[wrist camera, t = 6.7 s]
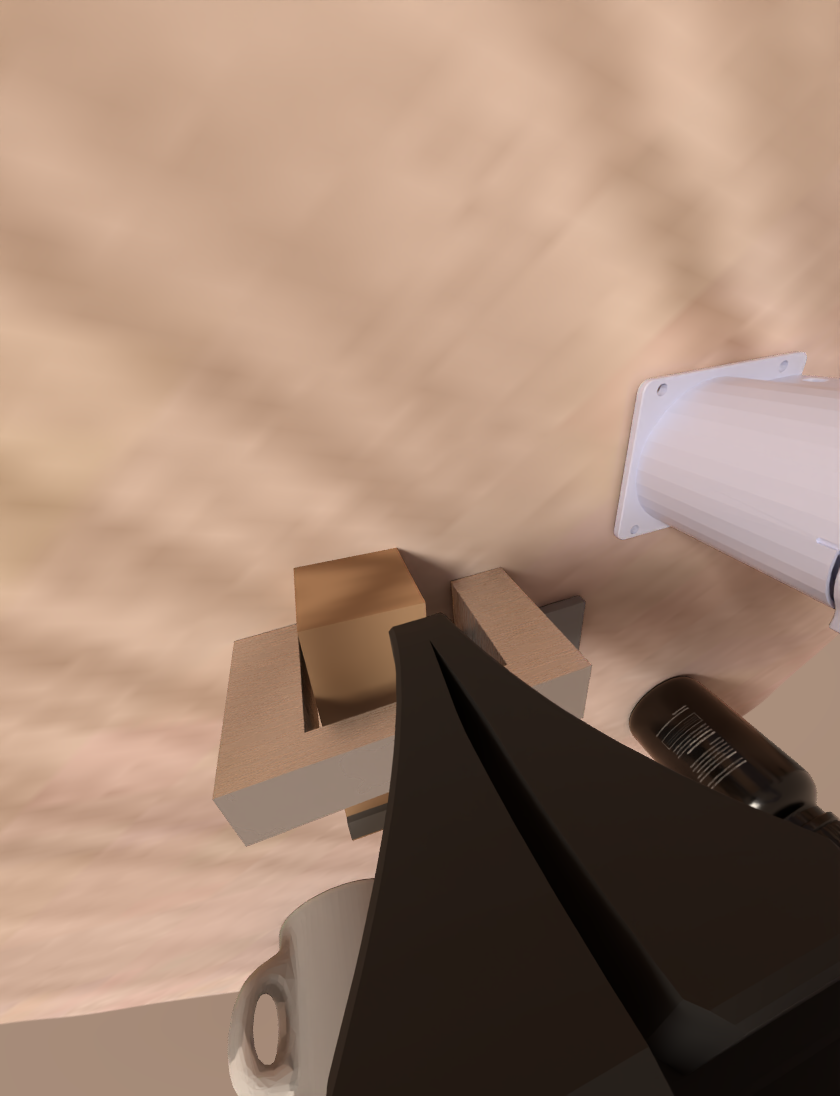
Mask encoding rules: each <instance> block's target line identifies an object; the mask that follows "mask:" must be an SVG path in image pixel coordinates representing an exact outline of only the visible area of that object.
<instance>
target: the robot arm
mask: <svg viewBox="0 0 840 1096" xmlns="http://www.w3.org/2000/svg"><path fill="white" fill-rule="evenodd" d="M806 360H807V355H806V353H805V352H796V351H795V352H789V353H784V354H779V355H773V356H768V357H762V358H757V359H752V360H746V361H741V362H735V363H730V364H725V365H719V366H714V367H708V368H703V369H698V370H692V371H687V372H681V373H676V374H670V375H665V376H660V377H654V378H649V379H646V380H645V381H643V382H642V383H641V385H640V386H639V388H638V391H637V397H636V403H635V409H634V415H633V421H632V426H631V432H630V438H629V444H628V450H627V456H626V462H625V468H624V474H623V480H622V486H621V492H620V498H619V504H618V510H617V516H616V522H615V528H614V535H615V536H616V537H617V538H619V539H621V540H625V539H628V538H632V537H635V536H639V535H642V534H646V533H650V532H653V531H657V530H660V529H664V528H667V527H673V528H675V529H677V530H679V531H681V532H683V533H685V534H687V535H689V536H691V537H693V538H695V539H697V540H699V541H701V542H703V543H705V544H707V545H709V546H711V547H713V548H715V549H717V550H719V551H721V552H723V553H725V554H727V555H729V556H731V557H733V558H734V559H736V560H738V561H740V562H742V563H744V564H746V565H748V566H750V567H752V568H754V569H756V570H758V571H760V572H762V573H764V574H766V575H768V576H770V577H772V578H774V579H776V580H778V581H780V582H782V583H784V584H786V585H788V586H790V587H792V588H794V589H796V590H798V591H800V592H802V593H804V594H806V595H808V596H810V597H812V598H813V599H815V600H817V601H819V602H821V603H823V604H825V605H827V606H829V607H831V608H833V609H835V613H834V616H833V619H832V620H831V622H830V624H829V628H831V629H832V630H834V631H836V632H838V633H840V378H832V377H821V376H810V375H802V372H803V369H804V366H805V364H806ZM659 386H660V389H659V391H658V392H657V390H658V388H659ZM389 637H390V642H391V647H392V652H393V658H394V663H395V669H396V720H395V738H394V751H393V762H392V771H391V780H390V788H389V796H388V803H387V809H386V815H385V822H384V828H383V835H382V841H381V847H380V852H379V858H378V863H377V869H376V874H375V879H374V883H373V888H372V893H371V898H370V903H369V907H368V912H367V917H366V922H365V927H364V931H363V936H362V941H361V946H360V950H359V954H358V959H357V963H356V967H355V972H354V976H353V980H352V984H351V988H350V992H349V996H348V1000H347V1004H346V1008H345V1012H344V1016H343V1020H342V1024H341V1028H340V1032H339V1036H338V1040H337V1044H336V1048H335V1052H334V1056H333V1060H332V1064H331V1068H330V1073H329V1077H328V1082H327V1091H326V1096H840V848H839V847H838V846H837V845H836V844H834V843H833V842H832V841H831V840H830V839H829V838H827V837H824V836H822V835H820V834H817V833H815V832H812V831H810V830H807V829H805V828H803V827H800V826H798V825H795V824H793V823H790V822H788V821H786V820H783V819H781V818H778V817H776V816H773V815H771V814H769V813H766V812H764V811H761V810H759V809H756V808H754V807H752V806H749V805H747V804H744V803H742V802H740V801H737V800H735V799H733V798H731V797H728V796H726V795H724V794H722V793H720V792H718V791H715V790H713V789H711V788H709V787H707V786H705V785H703V784H700V783H698V782H696V781H694V780H692V779H690V778H688V777H685V776H683V775H681V774H679V773H677V772H675V771H674V770H672V769H670V768H668V767H666V766H664V765H662V764H660V763H658V762H656V761H654V760H652V759H650V758H648V757H646V756H644V755H642V754H641V753H639V752H637V751H635V750H633V749H631V748H629V747H627V746H625V745H623V744H621V743H619V742H618V741H616V740H614V739H612V738H611V737H609V736H607V735H606V734H604V733H602V732H600V731H599V730H597V729H595V728H593V727H592V726H590V725H588V724H587V723H585V722H583V721H582V720H580V719H579V718H577V717H575V716H574V715H572V714H570V713H569V712H567V711H566V710H564V709H563V708H561V707H560V706H558V705H557V704H555V703H554V702H552V701H551V700H549V699H548V698H546V697H545V696H543V695H542V694H540V693H539V692H538V691H536V690H535V689H533V688H532V687H531V686H529V685H528V684H526V683H525V682H524V681H522V680H521V679H520V678H518V677H517V676H516V675H514V674H513V673H512V672H510V671H509V670H508V669H507V668H505V667H504V666H503V665H501V664H500V663H499V662H498V661H496V660H495V659H494V658H493V657H491V656H490V655H489V654H488V653H487V652H485V651H484V650H483V649H482V648H481V647H479V646H478V645H477V644H476V643H475V642H474V641H473V640H471V639H470V638H469V637H468V636H467V635H466V634H465V633H464V632H462V631H461V630H460V629H459V628H458V627H457V626H456V625H455V624H454V623H453V622H452V621H451V620H450V619H449V618H448V617H447V616H446V615H444V614H442V613H438V614H435V615H431V616H428V617H425V618H421V619H418V620H414V621H411V622H407V623H404V624H400V625H397V626H393V627H392V628H391V629H390V630H389Z"/></svg>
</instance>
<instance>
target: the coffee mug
mask: <svg viewBox="0 0 840 1096" xmlns="http://www.w3.org/2000/svg"><path fill="white" fill-rule="evenodd" d="M373 883H374V879H365V880H360V881H354V882H351V883H347V884H343V885H341V886H338V887H335V888H332V889H330V890H328V891H326V892H324V893H322V894H320V895H318V896H316V897H314V898H312V899H310V900H309V901H307V902H305V903H304V904H303V905H301V906H300V907H299V908H297V909H296V910H295V911H294V912H293V913H292V914H291V915H290V916H289V917H288V918H287V919H286V920H285V922H284V923H283V925H282V927H281V930H280V934H279V952H278V953H277V954H276V955H274V956H273V957H272V958H270V959H269V960H268V961H266V962H265V963H264V964H262V965H261V966H259V967H258V968H257V969H256V970H255V971H254V972H253V973H252V974H251V975H250V976H249V977H248V979H247V980H246V981H245V983H244V984H243V986H242V988H241V990H240V992H239V994H238V997H237V1000H236V1002H235V1005H234V1009H233V1013H232V1017H231V1023H230V1030H229V1040H228V1061H229V1073H230V1077H231V1080H232V1084H233V1087H234V1089H235V1091H236V1093H237V1095H238V1096H326V1091H327V1082H328V1077H329V1073H330V1068H331V1064H332V1060H333V1056H334V1052H335V1048H336V1044H337V1040H338V1036H339V1032H340V1028H341V1024H342V1020H343V1016H344V1012H345V1008H346V1004H347V1000H348V996H349V992H350V988H351V984H352V980H353V976H354V972H355V967H356V963H357V959H358V954H359V950H360V946H361V941H362V936H363V931H364V927H365V922H366V917H367V912H368V907H369V903H370V898H371V893H372V888H373ZM262 994H269V995H270V996H271V997H272V998H273V1000H274V1002H275V1005H276V1009H277V1015H278V1033H279V1034H278V1035H279V1036H278V1047H277V1054H276V1058H275V1061H274V1062H273V1063H272V1064H271V1065H264V1064H263V1063H262V1062H261V1061H260V1060H259V1059H258V1056H257V1054H256V1050H255V1047H254V1038H253V1022H254V1012H255V1008H256V1004H257V1001H258V999H259V998H260V996H261V995H262Z"/></svg>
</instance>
